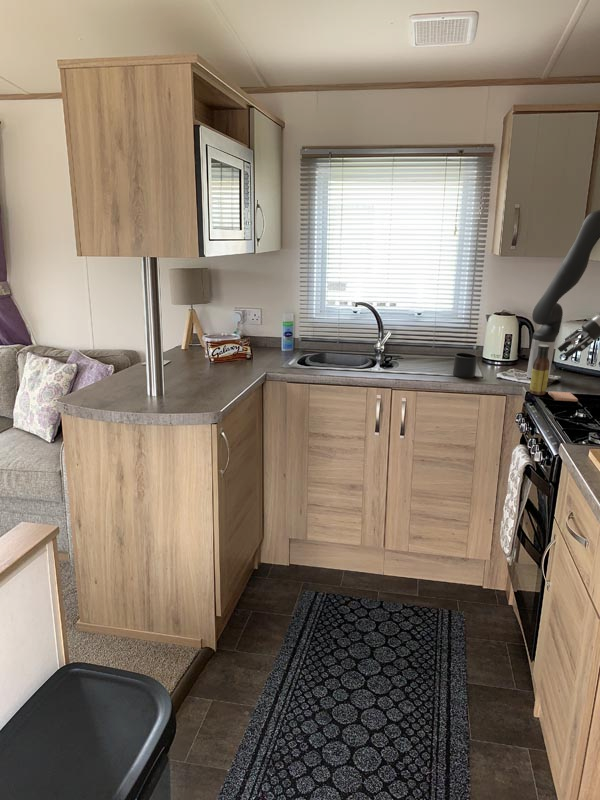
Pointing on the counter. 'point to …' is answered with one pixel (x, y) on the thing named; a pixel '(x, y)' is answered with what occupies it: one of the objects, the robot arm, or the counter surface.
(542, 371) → the sauce bottle
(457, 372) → the mug
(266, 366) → the counter surface
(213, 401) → the counter surface
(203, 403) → the counter surface
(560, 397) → the coaster
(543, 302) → the robot arm
